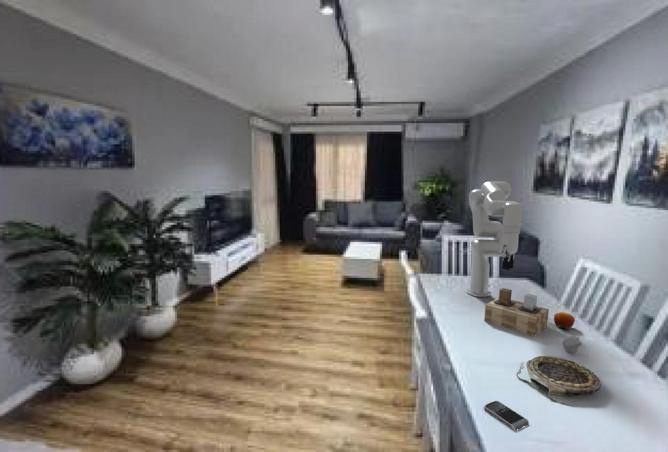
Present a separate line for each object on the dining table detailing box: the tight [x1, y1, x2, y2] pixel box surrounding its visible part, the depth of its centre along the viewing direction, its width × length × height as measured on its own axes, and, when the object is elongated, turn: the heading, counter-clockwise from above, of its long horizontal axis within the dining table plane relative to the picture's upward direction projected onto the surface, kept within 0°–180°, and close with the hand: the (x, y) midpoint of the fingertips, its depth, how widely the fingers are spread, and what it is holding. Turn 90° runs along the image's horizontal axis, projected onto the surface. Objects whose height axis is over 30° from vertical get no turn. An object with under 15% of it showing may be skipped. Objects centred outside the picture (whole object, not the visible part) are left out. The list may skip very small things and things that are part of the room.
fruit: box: [553, 311, 576, 331], centre depth 166 cm, size 8×8×8 cm
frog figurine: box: [561, 335, 583, 354], centre depth 143 cm, size 6×7×7 cm
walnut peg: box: [498, 287, 513, 304], centre depth 173 cm, size 4×4×9 cm
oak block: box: [483, 296, 549, 337], centre depth 170 cm, size 16×22×9 cm
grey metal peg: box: [523, 293, 538, 311], centre depth 165 cm, size 4×4×9 cm
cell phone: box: [483, 400, 530, 431], centre depth 105 cm, size 6×11×1 cm, turn 29°
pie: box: [516, 355, 602, 407], centre depth 123 cm, size 28×27×5 cm
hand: (507, 268), depth 171 cm, fingers open, 3 cm apart
